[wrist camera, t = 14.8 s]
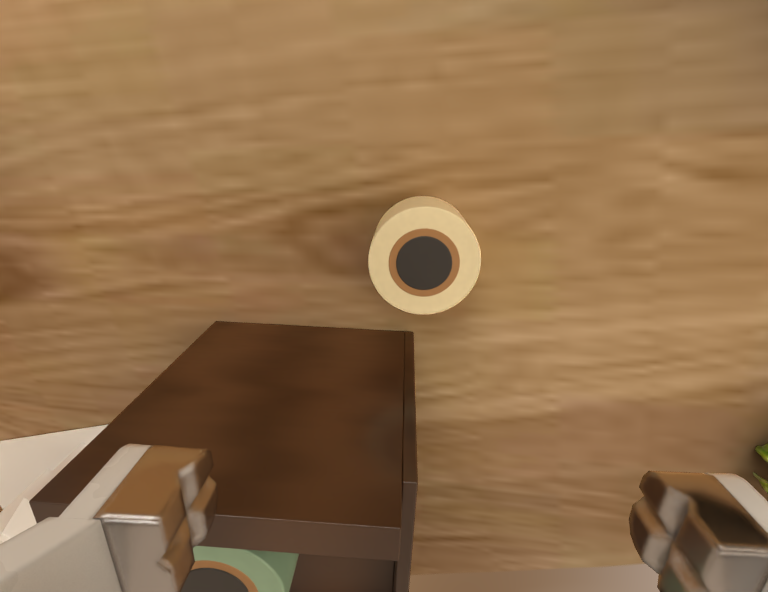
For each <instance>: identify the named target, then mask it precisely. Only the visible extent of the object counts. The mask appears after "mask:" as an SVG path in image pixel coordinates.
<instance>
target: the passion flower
mask: <svg viewBox="0 0 768 592" xmlns="http://www.w3.org/2000/svg"><path fill="white" fill-rule="evenodd" d="M755 451H756V452H757V453H758V454H759V455H760V456H761V457H762V458H763V459H764V460H765V461H766V462H767V463H768V443H767V444H765V445H763V446H756V448H755ZM753 475H754V477H755V478H757V479H758V480H759V482H760V484H761V486H762V488H763V489H764V490H765V491H766V492H767V493H768V481H767V480H765V479H763V478H761V477H760V476H758V475H757V474H756V473H755V472H753Z"/></svg>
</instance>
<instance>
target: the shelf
mask: <svg viewBox="0 0 768 592" xmlns="http://www.w3.org/2000/svg"><path fill="white" fill-rule="evenodd" d="M127 444H140V445H152V446H155V445H162V446H175V447H188V448H202V449H207V450H209V451H211V453H212V458H213V463H214V466H213V468H212V470H211V471H210V473H209V476H210V477H211V478H212V479H213V480H214V481H215V482H216V483H217V489H218V505H217V510H216V514H215V517H214V521H213V524H212V526H211V529H210V531H209V533H208V535H207V537H206V538H205V539H204V540H203V541H202V542H200V543H199V544H198V545H197V546H205V547H219V548H232V549H245V550H258V551H271V552H284V553H298V554H299V556H298V560H297V564H296V567H295V571H294V575H293V579H292V583H291V587H290V590H289V592H409V581H410V569H411V557H412V545H413V533H414V521H415V509H416V497H417V485H418V477H417V441H416V406H415V370H414V334H413V332H403V331H384V330H366V329H348V328H329V327H311V326H293V325H274V324H256V323H238V322H219V321H216V322H215V323H214V324H213V325H212V326H210V327H209V328H208V329H207V330H206V331H205V332H204V333H203V334H202V335H201V336H200V337H199V338H198V339H197V340H196V341H195V342H194V343H193V344H192V345H191V346H190V347H189V348H188V349H187V350H186V351H185V352H183V353H182V354H181V355H180V356H179V357H178V358H177V359H176V360H175V361H174V362H173V363H172V364H171V365H170V366H169V367H168V368H167V369H166V370H165V371H164V372H163V373H162V374H161V375H160V376H159V377H158V378H157V379H155V380H154V381H153V382H152V383H151V384H150V385H149V386H148V387H147V388H146V389H145V390H144V391H143V392H142V393H141V394H140V395H139V396H138V397H137V398H136V399H135V400H134V401H133V402H132V403H131V404H130V405H128V406H127V407H126V408H125V409H124V410H123V411H122V412H121V413H120V414H119V415H118V416H117V417H116V418H115V419H114V420H113V421H112V422H111V423H110V424H109V425H108V426H107V427H106V428H105V429H104V430H103V431H101V432H100V433H99V434H98V435H97V436H96V437H95V438H94V439H93V440H92V441H91V442H90V443H89V444H88V445H87V446H86V447H85V448H84V449H83V450H82V451H81V452H80V453H79V454H78V455H77V456H76V457H74V458H73V459H72V460H71V461H70V462H69V463H68V464H67V465H66V466H65V467H64V468H63V469H62V470H61V471H60V472H59V473H58V474H57V475H56V476H55V477H54V478H53V479H52V480H51V481H50V482H49V483H47V484H46V485H45V486H44V487H43V488H42V489H41V490H40V491H39V492H38V493H37V494H36V495H35V496H34V497H33V498H32V499H31V500H30V501H29V504H30V507H31V509H32V512H33V514H34V517H35V520H36V522H37V523H39V522H41V521H43V520H44V519H46V518H48V517H59V516H60V515H61V514H62V512H63V511H64V510H65V509H66V508H67V507H68V506H69V505H70V504H71V502H72V501H73V500H74V499H75V498H76V497H77V496H78V495H79V493H80V492H81V491H82V490H83V489H84V488H85V487H86V486H87V485H88V483H89V482H90V481H91V480H92V479H93V478H94V477H95V476H96V474H97V473H98V472H99V471H100V470H101V469H102V468H103V467H104V466H105V464H106V463H107V462H108V461H109V460H110V459H111V458H112V457H113V455H114V454H115V453H116V452H117V451H118V450H119V449H120V448H121V447H123V446H125V445H127Z"/></svg>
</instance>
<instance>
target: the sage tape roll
mask: <svg viewBox="0 0 768 592" xmlns="http://www.w3.org/2000/svg"><path fill="white" fill-rule="evenodd" d="M193 553H194V558H195V563H194V565H193V567H192V569H191V571H190V573H189V575H188V577H187V579H186V581H185V583H184V585H183V588H182V590H181V592H289V590H290V587H291V583H292V579H293V575H294V571H295V567H296V564H297V560H298V556H299V554H298V553H284V552H271V551H258V550H245V549H232V548H219V547H205V546H195V547H194V548H193Z"/></svg>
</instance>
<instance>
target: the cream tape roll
mask: <svg viewBox="0 0 768 592" xmlns="http://www.w3.org/2000/svg"><path fill="white" fill-rule="evenodd" d="M480 267H481V252H480V247H479V243H478V241H477V238H476V236H475V234H474V233H473V231H472V229H471V228H470V226H469V225H468V224H467V222H466V221H465V219H464V218H463V216H462V215H461V214H460V212H459V211H458V210H457V209H456V208H455V207H453V206H452V205H451V204H449V203H447V202H446V201H444V200H441V199H439V198H435V197H430V196H416V197H411V198H407V199H405V200H402V201H400V202H398V203H397V204H395V205H394V206H392V207H391V208H390V209H389V210H388V211H387V212H386V213H385V214H384V215H383V217H382V218H381V220H380V221H379V223H378V225H377V228H376V231H375V234H374V237H373V239H372V242H371V245H370V249H369V253H368V269H369V274H370V277H371V280H372V283H373V285H374V287H375V288H376V290H377V291H378V293H379V294H380V295H381V296H382V298H383V299H385V300H386V301H387V302H388V303H389V304H391V305H392V306H394V307H396V308H397V309H399V310H402V311H405V312H408V313H412V314H419V315H428V314H435V313H439V312H442V311H445V310H448V309H450V308H451V307H453V306H455V305H456V304H458V303H459V302H461V301H462V300H463V299H464V298H465V297H466V296H467V295H468V294H469V292H470V291H471V290H472V288H473V287H474V285H475V283H476V281H477V278H478V275H479V272H480Z"/></svg>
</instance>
